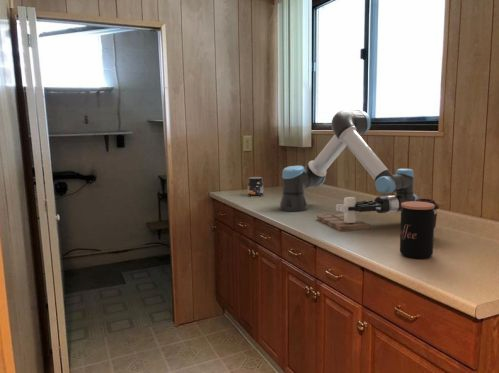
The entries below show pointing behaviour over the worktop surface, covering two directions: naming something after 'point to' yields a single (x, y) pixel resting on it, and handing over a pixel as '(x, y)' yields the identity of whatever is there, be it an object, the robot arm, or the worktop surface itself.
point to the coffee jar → (417, 229)
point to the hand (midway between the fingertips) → (338, 208)
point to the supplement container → (255, 186)
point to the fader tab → (350, 216)
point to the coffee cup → (433, 209)
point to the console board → (342, 222)
